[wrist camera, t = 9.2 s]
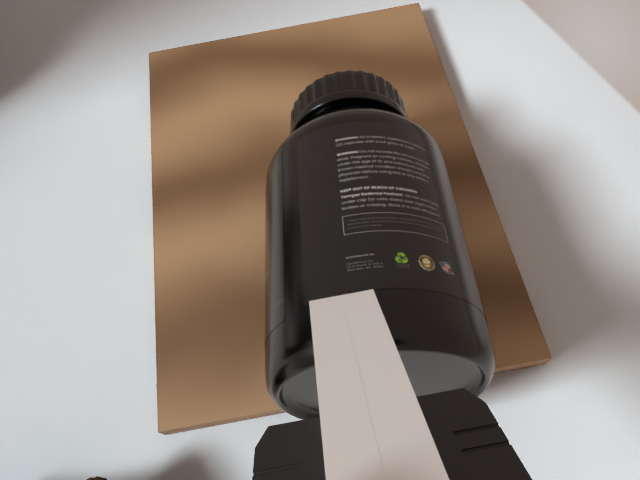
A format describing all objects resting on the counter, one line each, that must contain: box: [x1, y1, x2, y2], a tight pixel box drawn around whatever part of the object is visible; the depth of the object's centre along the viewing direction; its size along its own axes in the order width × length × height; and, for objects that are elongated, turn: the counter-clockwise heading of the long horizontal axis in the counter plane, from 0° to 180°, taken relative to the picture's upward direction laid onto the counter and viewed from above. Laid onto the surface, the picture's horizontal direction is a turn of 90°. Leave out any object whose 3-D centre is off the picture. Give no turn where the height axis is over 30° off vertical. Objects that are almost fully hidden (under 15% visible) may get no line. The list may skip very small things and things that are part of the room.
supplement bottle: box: [265, 70, 496, 420], centre depth 19 cm, size 7×7×12 cm
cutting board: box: [149, 3, 551, 435], centre depth 25 cm, size 20×15×1 cm
